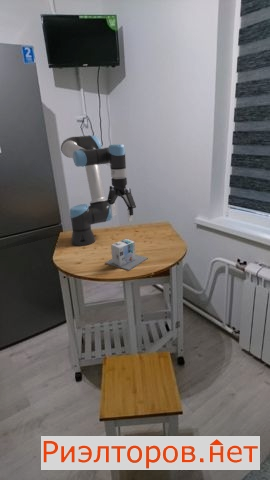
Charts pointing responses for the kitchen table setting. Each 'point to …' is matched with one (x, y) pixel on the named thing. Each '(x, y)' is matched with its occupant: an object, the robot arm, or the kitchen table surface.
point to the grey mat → (129, 265)
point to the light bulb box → (123, 252)
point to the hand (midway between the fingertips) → (121, 218)
